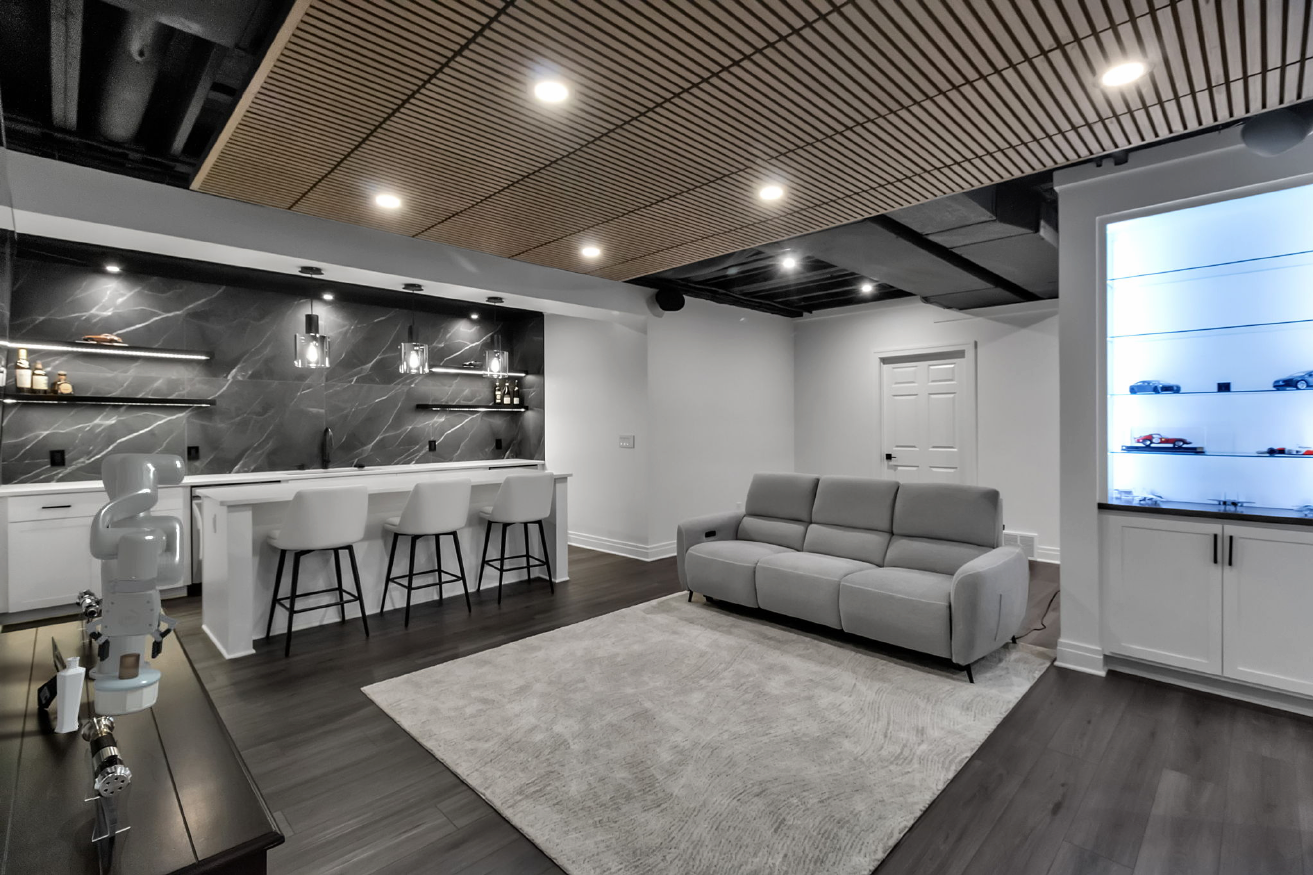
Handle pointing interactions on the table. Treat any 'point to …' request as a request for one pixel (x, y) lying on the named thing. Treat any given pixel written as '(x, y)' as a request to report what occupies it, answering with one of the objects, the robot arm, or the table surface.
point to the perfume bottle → (69, 695)
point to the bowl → (125, 700)
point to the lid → (127, 676)
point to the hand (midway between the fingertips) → (129, 658)
